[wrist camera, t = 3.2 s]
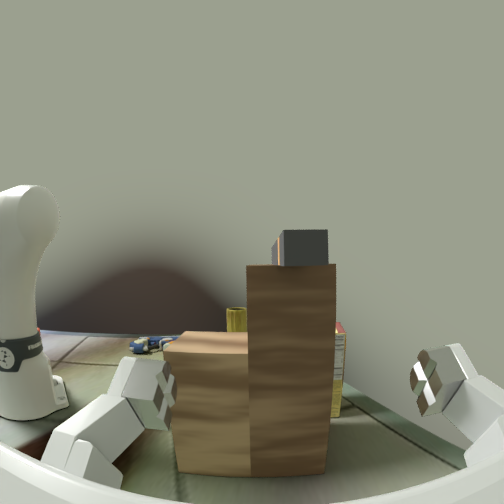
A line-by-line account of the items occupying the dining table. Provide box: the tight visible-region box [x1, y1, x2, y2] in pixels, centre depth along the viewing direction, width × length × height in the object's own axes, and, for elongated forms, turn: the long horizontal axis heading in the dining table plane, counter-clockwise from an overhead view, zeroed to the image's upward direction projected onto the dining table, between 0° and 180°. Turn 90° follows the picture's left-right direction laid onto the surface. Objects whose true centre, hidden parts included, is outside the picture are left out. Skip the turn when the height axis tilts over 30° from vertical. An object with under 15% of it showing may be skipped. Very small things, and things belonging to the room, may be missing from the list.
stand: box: [163, 264, 336, 477], centre depth 37 cm, size 14×18×26 cm
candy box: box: [331, 322, 346, 417], centre depth 49 cm, size 9×4×15 cm, turn 171°
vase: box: [227, 307, 247, 332], centre depth 80 cm, size 6×6×14 cm
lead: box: [272, 230, 328, 266], centre depth 32 cm, size 24×3×2 cm, turn 178°
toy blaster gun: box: [130, 336, 180, 353], centre depth 87 cm, size 21×4×15 cm
